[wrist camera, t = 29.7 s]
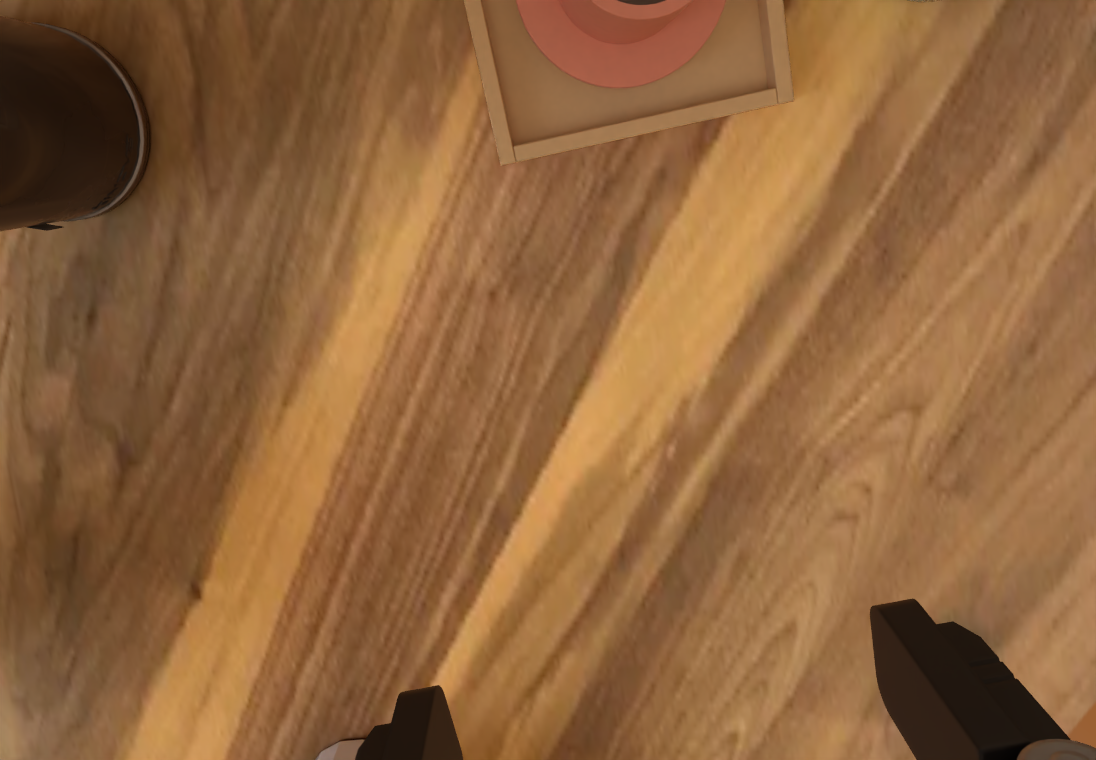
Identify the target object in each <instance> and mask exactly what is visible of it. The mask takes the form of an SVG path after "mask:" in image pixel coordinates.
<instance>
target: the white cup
mask: <svg viewBox="0 0 1096 760" xmlns="http://www.w3.org/2000/svg"><path fill="white" fill-rule="evenodd" d="M363 742H364V740H363V739H361V740H349V741H340V742H338V743H336V744H334V745H332V746H330V747H329V748H327V749H325V750H323V751H321V752H320V754H319V755H318V757H317V758H316V760H355V757H356V754H357V751H358V748H359V747H360V746H361V744H362V743H363Z"/></svg>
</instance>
